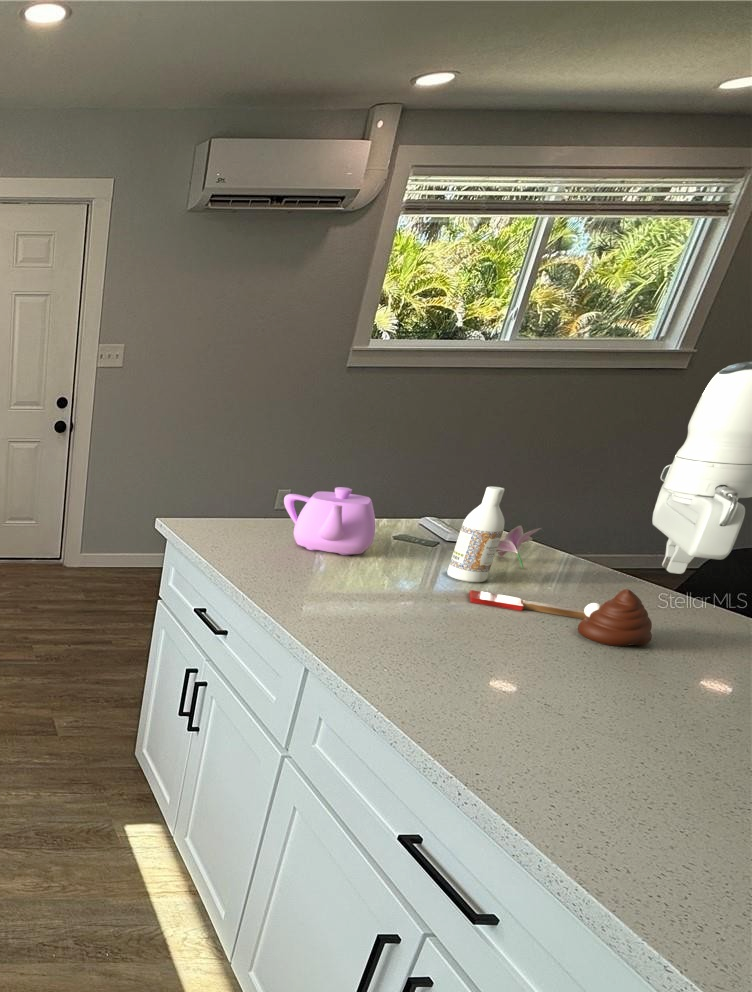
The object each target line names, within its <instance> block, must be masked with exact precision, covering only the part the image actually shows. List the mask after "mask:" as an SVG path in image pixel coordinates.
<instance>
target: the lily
mask: <svg viewBox="0 0 752 992" xmlns="http://www.w3.org/2000/svg"><path fill="white" fill-rule="evenodd" d="M539 530H542V527H539V528H535V529H531V530H529V531H526V532H524V529H523V526H522V525H517V526H516V527H514V528H513V529H511V530H510V531H508V533H506V535H505V536H504V537H503V538H501V540H500V542H499V545H498V547H497V550H496V553H497V556H498V557H499V558H502V557H503V556H504V555H506V554H507V553H508V552H509V553H510V552H511V553H516V555H517V557H518V560H519V563H520V566H521V567H520V568H521V569H524V564H523V562H522V558H521V556H520V553H519V548H520V546H521V544H523V543H527V542H531V541H533V537H531V536H532V535H533V534H535V533H537V532H539Z"/></svg>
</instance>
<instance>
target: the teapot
mask: <svg viewBox="0 0 752 992" xmlns="http://www.w3.org/2000/svg"><path fill="white" fill-rule="evenodd" d="M352 491H353V489H352V488H350V487H344V486H343V487H342V486H338V487H337V486H336V487H334V491H323V490H322V491H321V490H320V491H316V492H315V493H313V494H312V496H311V497H309V496H306V495H302V494H298V493H287V494H286V495H285V496H284V498H283V504H284V507H285V510H286V512H287V514H288V515H289V517H290V519H291V520H292V521H293V523H294V528H293V538H294V541H295V543H296V544H297V545H298V546H301V547H304V548H305V549H307V550H310V551H322V552H328V553H335V554H339V555H342V556H351V555H361V554H364V552H366V550H367V549H369V547H370V546H371V545H372V544H373V542H374V540H375V536H376V535H375V534H376V515H375V511H374V504H373V502H372V501H373V500H372V499H371V498H370V496H366V495H361V494H355V493H352ZM296 501H301V502H305V505H304V506H303V508H302V509H301V510H300V513H299V515H297V512H296V509H295V502H296Z"/></svg>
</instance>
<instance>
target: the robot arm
mask: <svg viewBox="0 0 752 992" xmlns="http://www.w3.org/2000/svg"><path fill="white" fill-rule="evenodd" d="M660 481H662V482H663V483H662V485H661V487H660V490H659V493H658V496H657V500H656V501H655V504H654V505H655V506H654V509H653V512H652V521H651V522H652V526H654V527H655V528H656V529H657V530H659V531H660V532H661V533H662V534H663V535H665V536H666V537H667V538H668V540H667V541H666V548H665V556H664V559H663V561H662V563H661V566H662V567H663V568H664V569H665V570H666V571H667V572H668V573H671V574H677V575H678V574H679V575H682V574H684V573H685V572H686V570H687V568H688V565H689V564H690V563H691V561H692V560H694V559H695V558H700V559H709V560H717V561H718V560H722V561H723V560H724V559H726V558H727V557H728V556H729V555H730V553H731V552H732V551H733V547H734V546H735V543H736V541H737V538H738V535H739V533H740V530H741V527H742V525H743V522H744V520H745V519H744V518H745V514H746V507H745V506H744V505H743V504H742V503H741V502H738V500H739V499H748V498H752V360H747V361H742V362H736V363H734V364H731V365H728V366H726V367H724V368H722V369H721V370H719V371H718V372H717V373H716V374H715V375H713V377H712V378H711V380H710V381H709V383H708V384H707V386H706V387H705V390H703V393H701V396H700V398H699V400H698V402H697V404H696V406H695V408H694V411H693V412H692V414H691V417H690V419H689V421H688V425H687V436H686V439H685V441H684V443H683V444H682V446H681V447H680V448H679V449H678V451H677V452H676V453H675V456H674V457H673V461H672V463H671V464H668V465H666V466H665V467H664V468H663V470H662V472H661V474H660Z"/></svg>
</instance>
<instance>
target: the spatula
mask: <svg viewBox="0 0 752 992" xmlns="http://www.w3.org/2000/svg"><path fill="white" fill-rule="evenodd" d="M468 596H469V602H470V603H473V604H478V605H485V606H490V607H491V606H492V607H496V608H501V609H502V608H503V609H508V610H514V611H520V612H522V611H523V610H529V611H533V612H538V613H545V614H552V615H556V616H562V617H569V618H574V619H580V620H583V619H585V618H587V616H586V615H585V613H584V609H581V608H575V607H568V606H562V605H556V604H550V603H543V602H539V601H538V602H537V601H532V600H527V599H521V597H516V596H515V597H514V596H510V595H503V594H497V593H492V592H485V591H479V590H473V589H470V590H469V593H468Z"/></svg>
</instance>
